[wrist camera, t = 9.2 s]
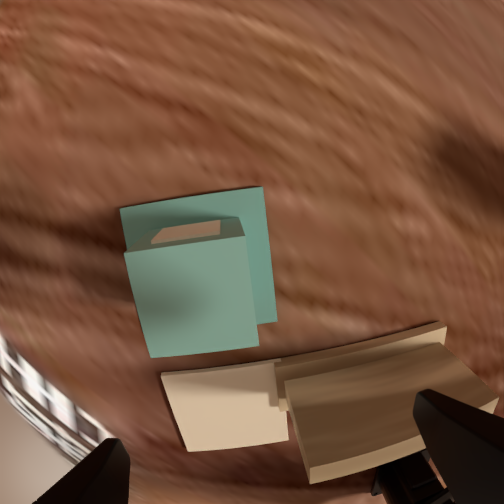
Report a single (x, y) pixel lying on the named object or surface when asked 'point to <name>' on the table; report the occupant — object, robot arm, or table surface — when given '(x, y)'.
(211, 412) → the ivory coaster
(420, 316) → the table surface
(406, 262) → the table surface
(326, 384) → the screen
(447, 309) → the table surface
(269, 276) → the teal coaster
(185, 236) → the cube
